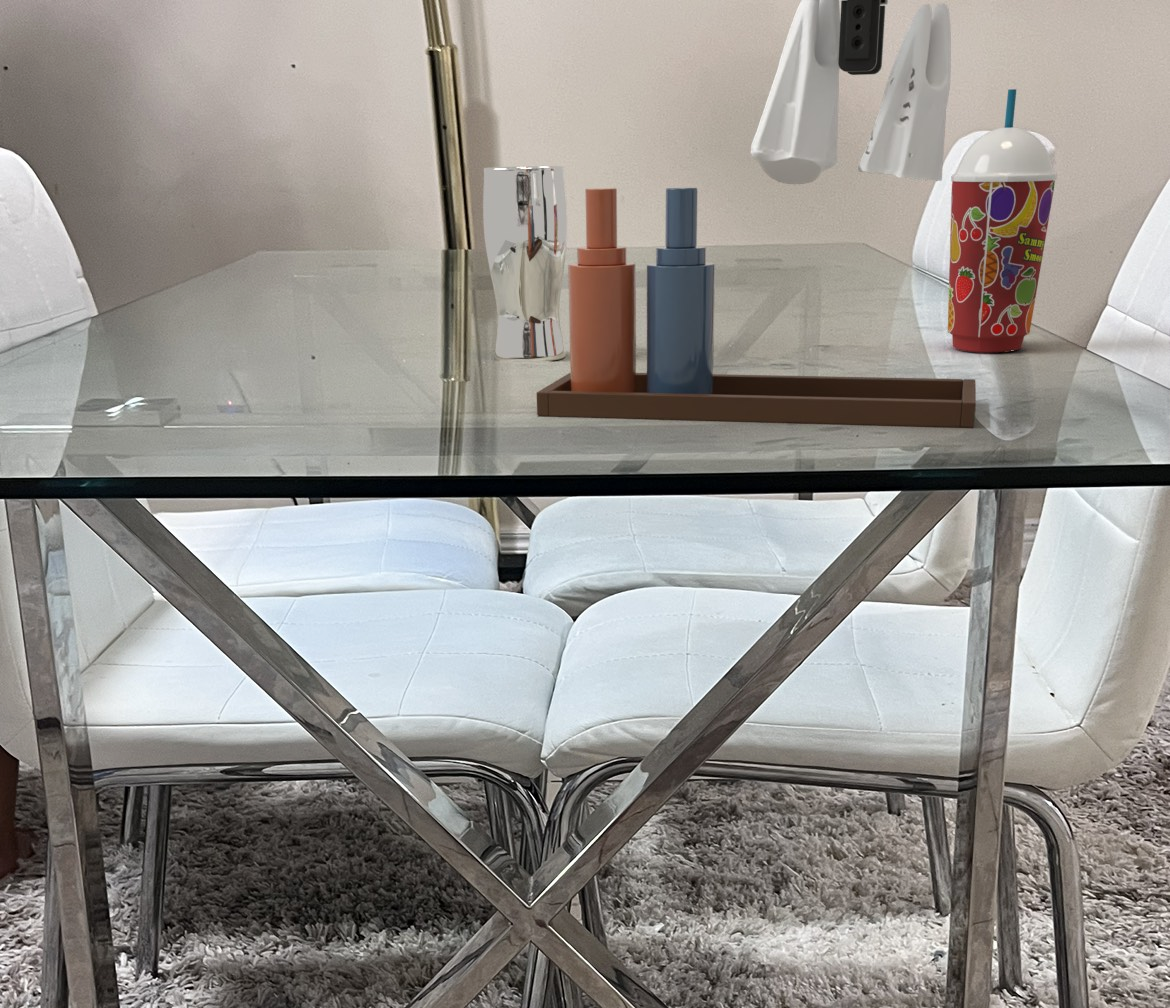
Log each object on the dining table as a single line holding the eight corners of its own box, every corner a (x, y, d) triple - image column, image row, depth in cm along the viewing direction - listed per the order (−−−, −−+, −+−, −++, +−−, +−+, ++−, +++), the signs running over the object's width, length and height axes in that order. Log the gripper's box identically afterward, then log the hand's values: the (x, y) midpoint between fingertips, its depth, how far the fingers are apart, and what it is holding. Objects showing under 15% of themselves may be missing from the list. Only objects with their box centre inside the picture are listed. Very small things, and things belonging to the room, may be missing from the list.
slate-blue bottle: (717, 402, 95) (722, 186, 89) (706, 413, 91) (710, 188, 85) (653, 400, 96) (654, 186, 90) (640, 412, 92) (640, 189, 86)
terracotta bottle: (642, 400, 96) (642, 186, 90) (628, 411, 92) (627, 189, 87) (580, 398, 97) (576, 187, 91) (563, 410, 93) (558, 190, 88)
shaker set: (749, 187, 87) (754, -18, 82) (750, 184, 90) (755, -12, 86) (947, 183, 85) (964, -26, 80) (940, 180, 89) (956, -20, 84)
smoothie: (1035, 356, 115) (1065, 86, 107) (932, 354, 118) (953, 89, 110) (1039, 343, 123) (1068, 89, 114) (942, 341, 125) (963, 92, 117)
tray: (972, 411, 93) (975, 379, 92) (972, 437, 85) (975, 402, 84) (572, 401, 100) (571, 371, 99) (537, 425, 92) (536, 392, 91)
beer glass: (552, 364, 116) (547, 167, 110) (476, 362, 118) (466, 168, 112) (582, 353, 122) (578, 165, 116) (508, 350, 124) (501, 166, 118)
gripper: (945, -315, 71) (918, 66, 78) (950, -248, 83) (927, 75, 90) (796, -301, 72) (783, 70, 80) (823, -237, 85) (810, 79, 92)
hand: (860, 71), depth 85 cm, fingers closed on shaker set, 4 cm apart
